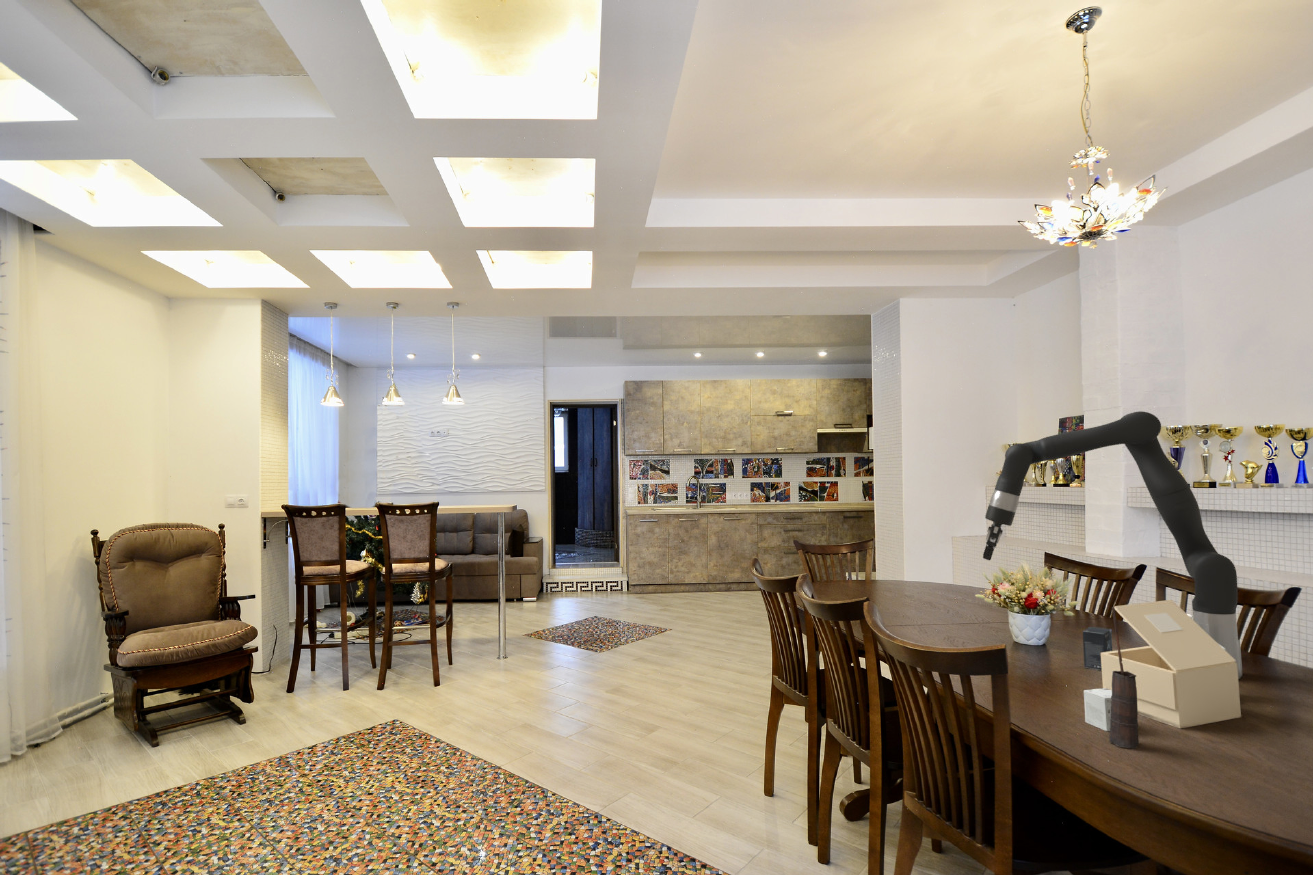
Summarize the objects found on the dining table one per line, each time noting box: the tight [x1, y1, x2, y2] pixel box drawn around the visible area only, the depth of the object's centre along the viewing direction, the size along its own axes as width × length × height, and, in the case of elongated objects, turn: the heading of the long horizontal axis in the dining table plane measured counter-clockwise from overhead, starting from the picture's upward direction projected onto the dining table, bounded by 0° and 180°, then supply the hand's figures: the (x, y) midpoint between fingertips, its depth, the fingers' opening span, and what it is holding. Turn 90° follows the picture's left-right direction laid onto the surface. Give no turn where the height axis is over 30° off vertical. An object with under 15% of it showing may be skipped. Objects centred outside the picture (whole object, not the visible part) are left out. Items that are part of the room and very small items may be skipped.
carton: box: [1101, 645, 1242, 730], centre depth 162 cm, size 20×18×12 cm
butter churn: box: [1108, 606, 1140, 749], centre depth 142 cm, size 9×10×28 cm
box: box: [1082, 626, 1113, 671], centre depth 197 cm, size 8×6×11 cm
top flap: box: [1113, 599, 1236, 672], centre depth 160 cm, size 19×18×1 cm
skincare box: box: [1083, 687, 1112, 732], centre depth 153 cm, size 6×6×7 cm
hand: (986, 558), depth 207 cm, fingers open, 8 cm apart
